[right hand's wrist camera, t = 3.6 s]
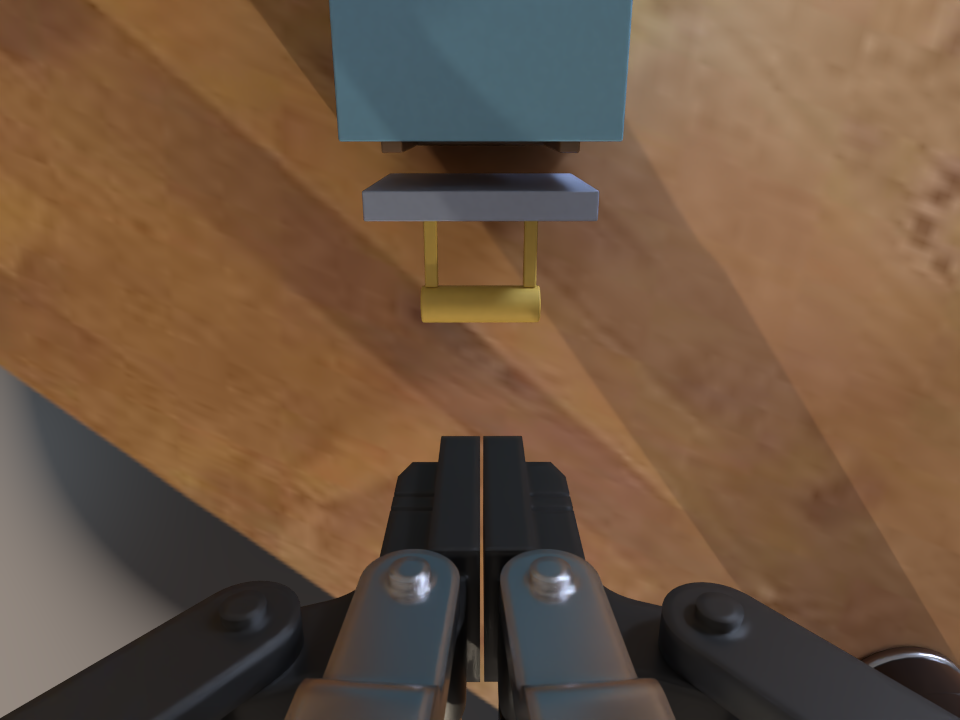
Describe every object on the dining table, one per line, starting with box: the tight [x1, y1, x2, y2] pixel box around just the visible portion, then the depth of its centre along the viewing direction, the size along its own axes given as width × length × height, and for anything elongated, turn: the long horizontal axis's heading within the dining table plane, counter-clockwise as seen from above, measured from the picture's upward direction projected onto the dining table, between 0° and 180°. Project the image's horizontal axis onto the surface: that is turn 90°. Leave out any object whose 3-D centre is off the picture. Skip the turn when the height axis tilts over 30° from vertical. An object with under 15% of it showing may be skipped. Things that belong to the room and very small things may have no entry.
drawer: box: [362, 141, 599, 322], centre depth 28 cm, size 26×10×9 cm, turn 0°
